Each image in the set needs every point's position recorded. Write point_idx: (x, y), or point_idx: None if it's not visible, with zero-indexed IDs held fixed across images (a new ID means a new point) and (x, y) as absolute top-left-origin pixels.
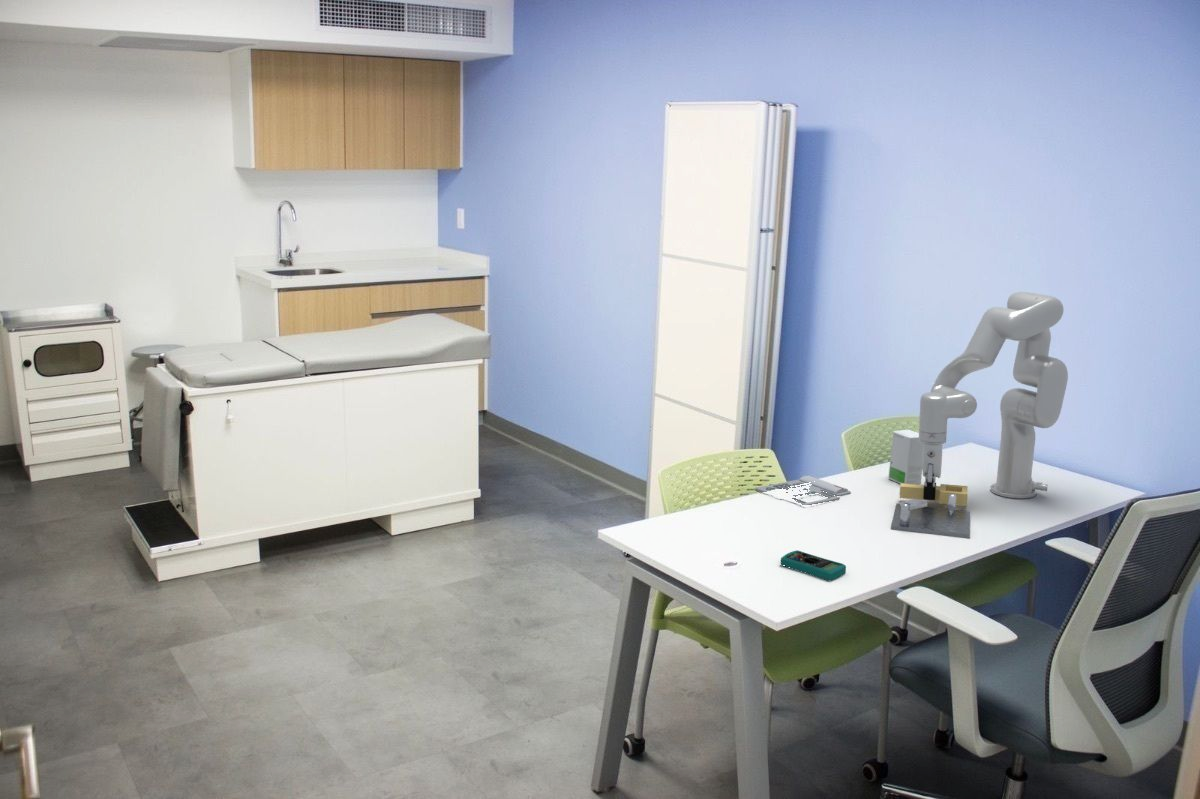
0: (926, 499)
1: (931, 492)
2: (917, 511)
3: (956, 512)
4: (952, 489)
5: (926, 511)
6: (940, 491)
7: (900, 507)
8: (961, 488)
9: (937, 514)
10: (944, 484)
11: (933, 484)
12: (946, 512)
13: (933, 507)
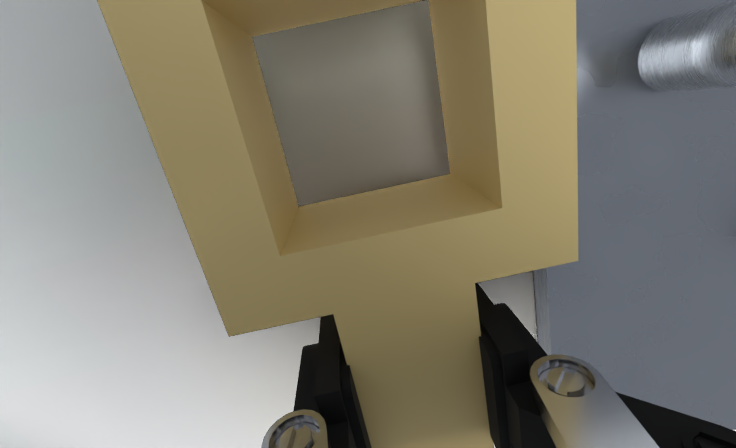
0: None
1: (529, 339)
2: (696, 311)
3: (618, 12)
4: (259, 155)
5: (674, 257)
6: (557, 257)
7: None
8: (209, 15)
9: (732, 161)
10: (220, 289)
11: (615, 404)
12: (648, 103)
13: None
